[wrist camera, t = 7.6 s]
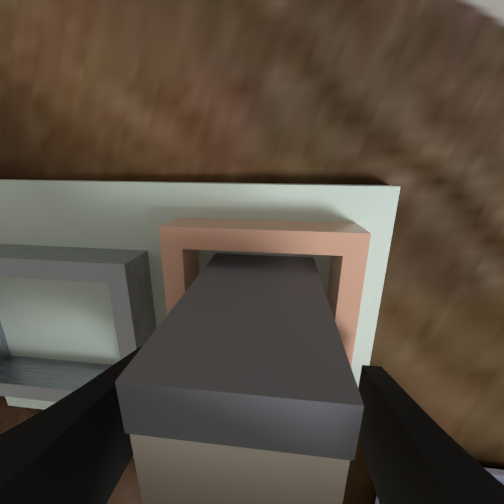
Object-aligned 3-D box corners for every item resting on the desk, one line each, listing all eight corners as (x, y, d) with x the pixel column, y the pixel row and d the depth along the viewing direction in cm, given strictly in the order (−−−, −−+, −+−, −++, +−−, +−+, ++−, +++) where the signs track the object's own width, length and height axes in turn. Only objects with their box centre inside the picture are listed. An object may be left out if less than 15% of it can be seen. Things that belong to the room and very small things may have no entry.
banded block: (302, 391, 13) (322, 633, 6) (220, 383, 13) (157, 602, 7) (313, 257, 11) (364, 406, 4) (215, 253, 11) (114, 381, 4)
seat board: (390, 184, 11) (426, 190, 8) (350, 427, 14) (365, 485, 12) (-44, 178, 13) (-132, 180, 10) (24, 391, 16) (-26, 434, 14)
